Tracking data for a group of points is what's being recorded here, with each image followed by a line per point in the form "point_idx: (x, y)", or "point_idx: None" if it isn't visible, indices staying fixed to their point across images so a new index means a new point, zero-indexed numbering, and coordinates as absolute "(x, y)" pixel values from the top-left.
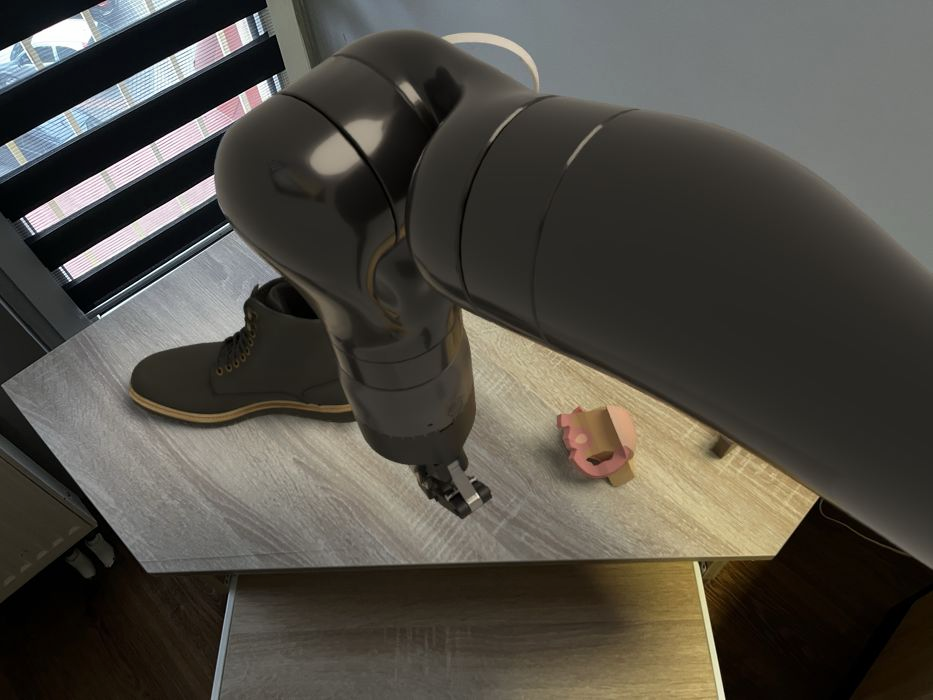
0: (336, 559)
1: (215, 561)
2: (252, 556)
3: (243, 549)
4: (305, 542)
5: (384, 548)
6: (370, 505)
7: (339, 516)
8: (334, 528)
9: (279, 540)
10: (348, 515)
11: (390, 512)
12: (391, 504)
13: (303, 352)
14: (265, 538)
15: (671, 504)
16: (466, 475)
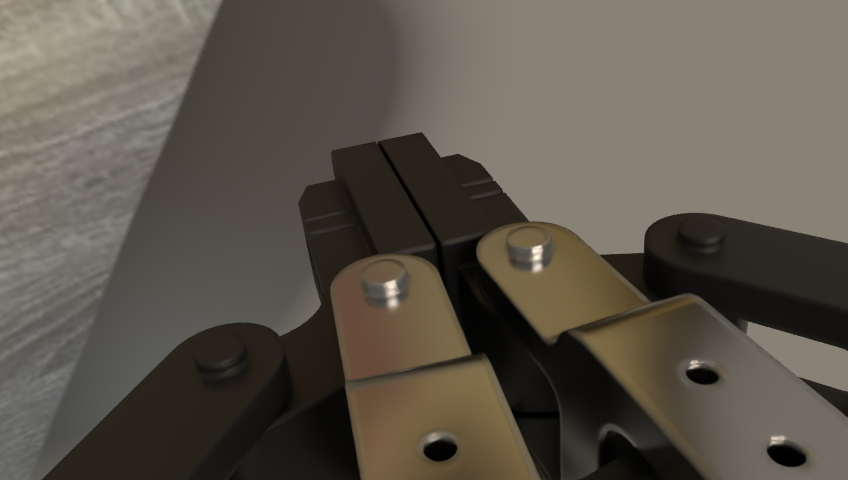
0: (129, 220)
1: (36, 442)
2: (52, 377)
3: (27, 391)
4: (59, 272)
5: (146, 109)
6: (9, 102)
7: (15, 184)
8: (46, 204)
9: (32, 322)
10: (20, 163)
11: (50, 60)
12: (26, 48)
13: None
14: (16, 348)
15: None
16: (845, 311)
